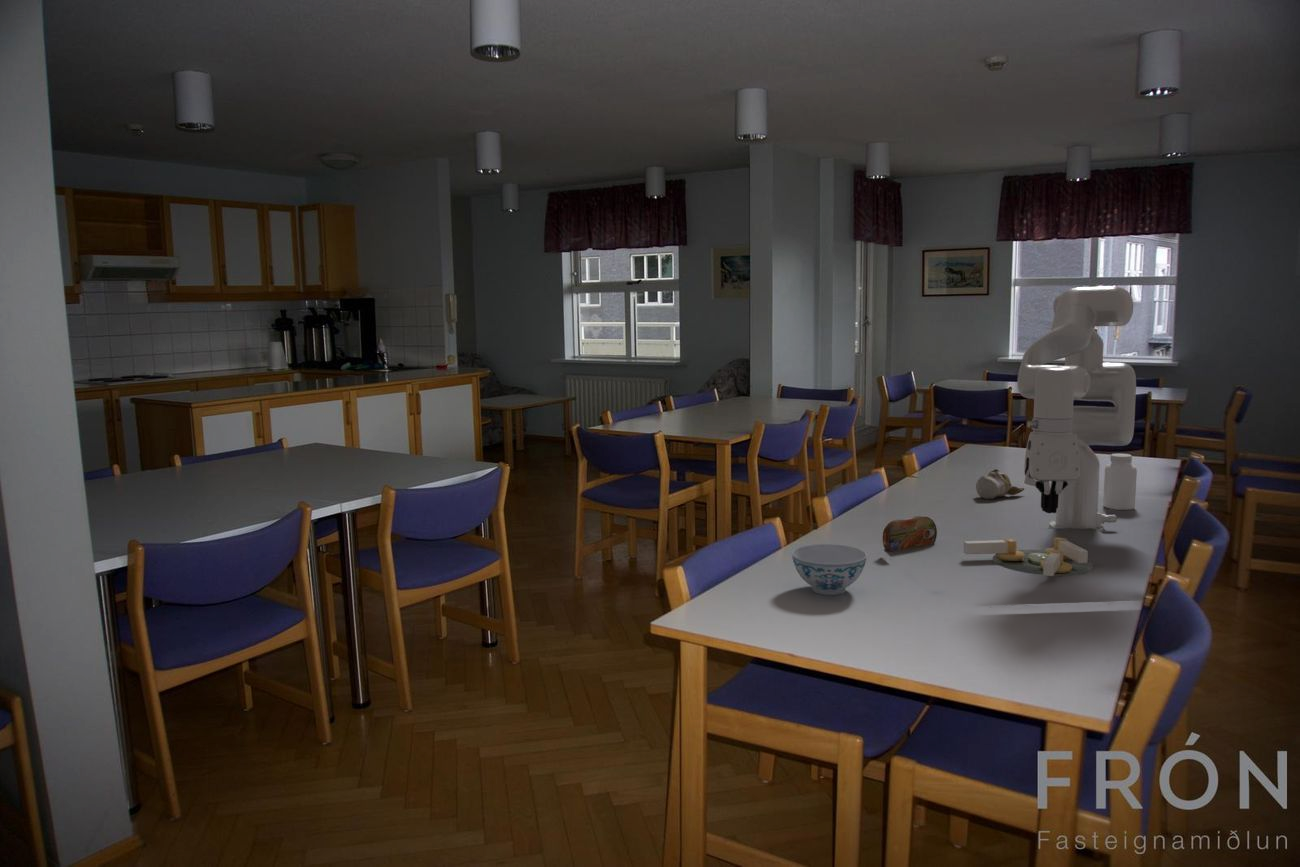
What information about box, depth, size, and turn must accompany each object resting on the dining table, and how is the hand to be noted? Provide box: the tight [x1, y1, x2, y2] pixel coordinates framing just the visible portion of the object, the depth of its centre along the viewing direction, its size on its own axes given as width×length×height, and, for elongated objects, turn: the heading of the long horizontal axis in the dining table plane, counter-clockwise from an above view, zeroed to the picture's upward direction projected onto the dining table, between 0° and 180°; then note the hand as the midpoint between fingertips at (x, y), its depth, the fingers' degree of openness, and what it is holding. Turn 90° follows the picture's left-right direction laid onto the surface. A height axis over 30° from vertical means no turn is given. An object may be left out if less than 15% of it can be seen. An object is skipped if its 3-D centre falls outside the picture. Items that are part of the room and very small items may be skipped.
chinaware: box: [791, 543, 868, 596], centre depth 183 cm, size 15×15×8 cm
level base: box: [992, 549, 1093, 576], centre depth 195 cm, size 20×20×3 cm
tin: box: [882, 515, 938, 553], centre depth 210 cm, size 15×3×8 cm, turn 117°
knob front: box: [1040, 550, 1072, 577], centre depth 185 cm, size 13×6×4 cm, turn 147°
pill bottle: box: [1102, 452, 1138, 511], centre depth 250 cm, size 8×8×15 cm
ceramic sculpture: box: [975, 469, 1025, 500], centre depth 269 cm, size 11×9×15 cm
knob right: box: [1044, 536, 1089, 563], centre depth 195 cm, size 13×6×4 cm, turn 2°
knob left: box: [963, 538, 1025, 561], centre depth 198 cm, size 13×6×4 cm, turn 92°
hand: (1049, 511), depth 190 cm, fingers closed
